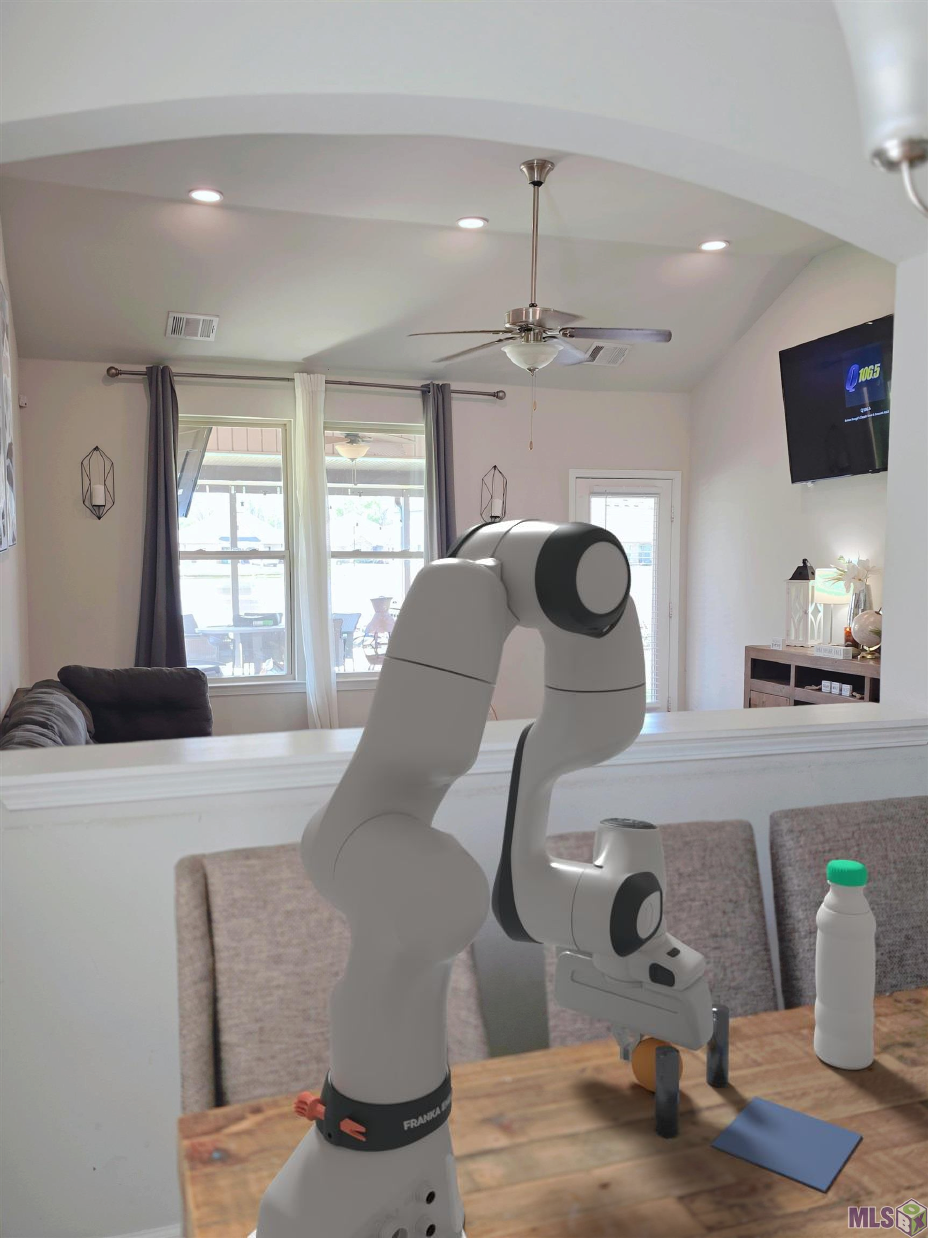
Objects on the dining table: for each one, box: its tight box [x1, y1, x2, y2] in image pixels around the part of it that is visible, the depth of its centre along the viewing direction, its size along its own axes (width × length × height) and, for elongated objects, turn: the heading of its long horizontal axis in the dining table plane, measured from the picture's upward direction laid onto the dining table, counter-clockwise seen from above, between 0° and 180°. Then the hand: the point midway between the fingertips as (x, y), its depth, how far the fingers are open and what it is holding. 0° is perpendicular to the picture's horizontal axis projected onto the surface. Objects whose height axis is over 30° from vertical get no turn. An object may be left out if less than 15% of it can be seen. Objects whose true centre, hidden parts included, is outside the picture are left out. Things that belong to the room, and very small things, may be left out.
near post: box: [654, 1045, 681, 1139], centre depth 104 cm, size 3×3×9 cm
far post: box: [705, 1003, 730, 1088], centre depth 114 cm, size 3×3×9 cm
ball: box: [631, 1036, 684, 1093], centre depth 112 cm, size 6×6×6 cm
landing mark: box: [711, 1096, 863, 1193], centre depth 102 cm, size 12×12×1 cm
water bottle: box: [813, 859, 877, 1071], centre depth 119 cm, size 7×7×25 cm
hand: (629, 1059), depth 115 cm, fingers closed
